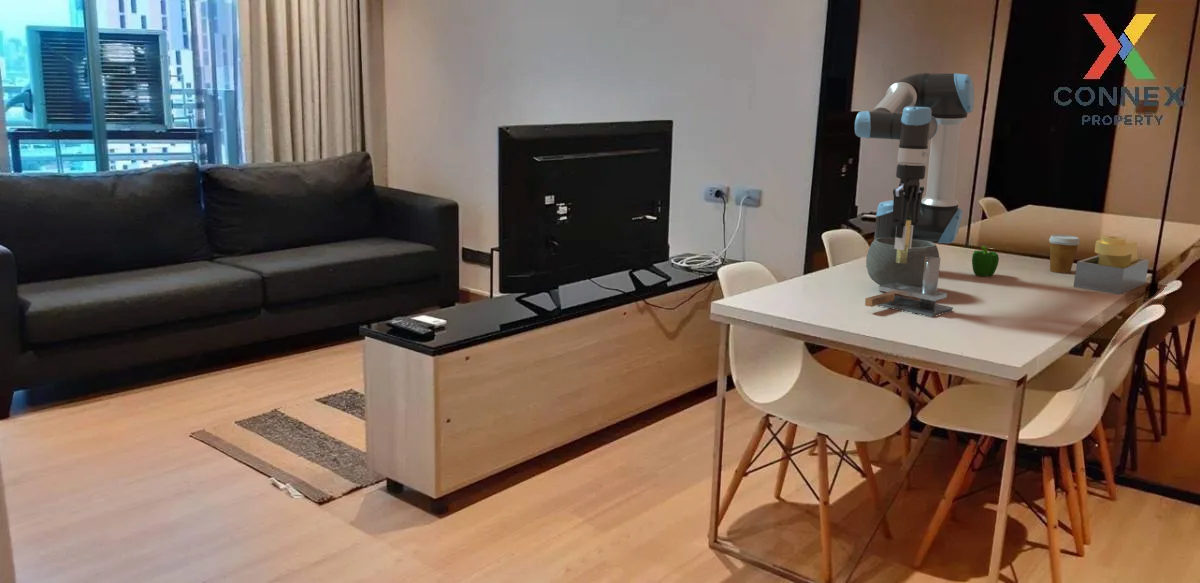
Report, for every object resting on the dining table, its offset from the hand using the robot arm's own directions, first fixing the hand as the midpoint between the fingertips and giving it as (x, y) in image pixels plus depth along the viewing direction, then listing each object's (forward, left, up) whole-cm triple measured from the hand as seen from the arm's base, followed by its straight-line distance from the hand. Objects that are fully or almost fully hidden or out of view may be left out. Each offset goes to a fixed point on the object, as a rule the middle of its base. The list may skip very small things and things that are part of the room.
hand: (902, 248), depth 260 cm
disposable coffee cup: (+11, +91, -16) cm, 93 cm away
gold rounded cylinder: (0, 0, -4) cm, 4 cm away
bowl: (-9, +18, -16) cm, 26 cm away
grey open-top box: (+30, +81, -16) cm, 88 cm away
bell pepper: (-3, +62, -16) cm, 65 cm away
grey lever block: (+5, -5, -16) cm, 18 cm away
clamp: (+30, +82, -17) cm, 89 cm away
